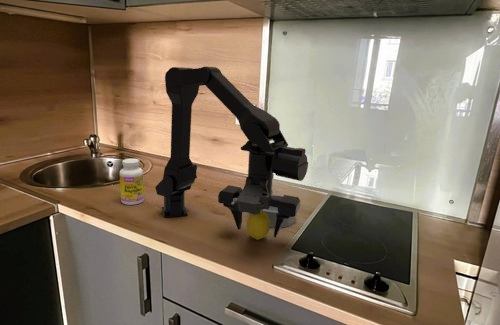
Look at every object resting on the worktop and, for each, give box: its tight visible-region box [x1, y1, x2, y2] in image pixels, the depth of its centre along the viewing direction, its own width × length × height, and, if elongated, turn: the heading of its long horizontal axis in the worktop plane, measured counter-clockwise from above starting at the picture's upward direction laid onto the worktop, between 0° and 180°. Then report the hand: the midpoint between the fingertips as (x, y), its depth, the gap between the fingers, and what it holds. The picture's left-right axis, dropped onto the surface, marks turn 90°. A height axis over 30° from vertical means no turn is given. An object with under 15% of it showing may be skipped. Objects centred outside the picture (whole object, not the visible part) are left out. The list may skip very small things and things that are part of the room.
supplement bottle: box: [119, 158, 145, 206], centre depth 96 cm, size 7×7×13 cm
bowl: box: [248, 193, 296, 229], centre depth 91 cm, size 13×13×4 cm
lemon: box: [246, 211, 271, 241], centre depth 78 cm, size 6×6×8 cm
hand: (256, 232), depth 78 cm, fingers open, 9 cm apart
